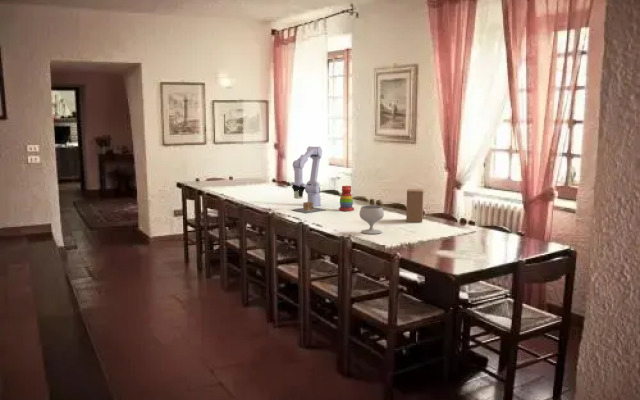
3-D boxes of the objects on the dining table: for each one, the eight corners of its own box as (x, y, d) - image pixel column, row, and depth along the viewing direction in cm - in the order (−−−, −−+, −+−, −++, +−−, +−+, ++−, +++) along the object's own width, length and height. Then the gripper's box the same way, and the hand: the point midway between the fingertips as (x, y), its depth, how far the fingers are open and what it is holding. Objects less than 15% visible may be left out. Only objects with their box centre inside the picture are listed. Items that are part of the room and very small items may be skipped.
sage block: (298, 197, 405) (298, 190, 404) (302, 198, 402) (302, 191, 401) (294, 198, 402) (294, 191, 402) (298, 198, 399) (297, 191, 398)
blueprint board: (310, 207, 412) (310, 206, 412) (325, 210, 401) (325, 209, 401) (291, 210, 400) (291, 209, 400) (306, 213, 389) (306, 212, 389)
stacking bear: (354, 209, 405) (354, 184, 402) (353, 211, 395) (353, 186, 392) (339, 209, 406) (339, 184, 403) (338, 211, 396) (338, 186, 393)
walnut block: (308, 208, 404) (308, 201, 403) (313, 209, 400) (313, 202, 399) (303, 209, 401) (303, 202, 400) (307, 210, 397) (307, 203, 396)
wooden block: (422, 222, 355) (423, 191, 352) (406, 222, 357) (406, 190, 354) (422, 219, 365) (423, 189, 361) (407, 219, 367) (407, 188, 363)
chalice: (362, 235, 318) (363, 209, 316) (356, 230, 332) (356, 205, 330) (386, 234, 321) (387, 208, 319) (379, 229, 335) (379, 204, 332)
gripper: (287, 176, 403) (287, 195, 405) (300, 178, 392) (300, 197, 394) (295, 176, 407) (295, 194, 409) (308, 177, 397) (308, 196, 399)
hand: (298, 196), depth 402 cm, fingers closed on sage block, 4 cm apart
